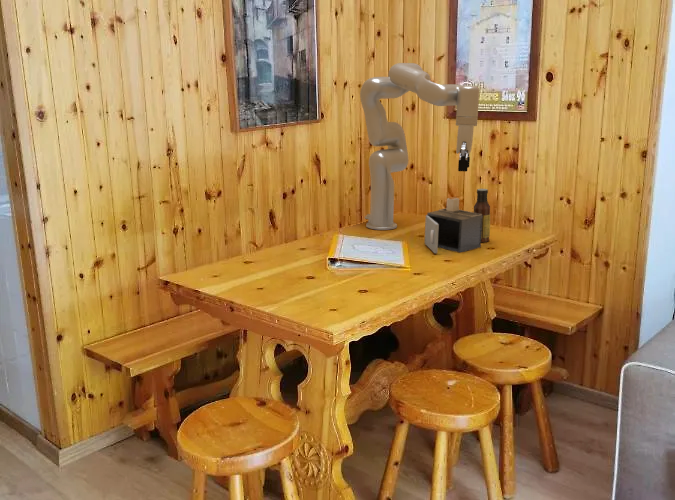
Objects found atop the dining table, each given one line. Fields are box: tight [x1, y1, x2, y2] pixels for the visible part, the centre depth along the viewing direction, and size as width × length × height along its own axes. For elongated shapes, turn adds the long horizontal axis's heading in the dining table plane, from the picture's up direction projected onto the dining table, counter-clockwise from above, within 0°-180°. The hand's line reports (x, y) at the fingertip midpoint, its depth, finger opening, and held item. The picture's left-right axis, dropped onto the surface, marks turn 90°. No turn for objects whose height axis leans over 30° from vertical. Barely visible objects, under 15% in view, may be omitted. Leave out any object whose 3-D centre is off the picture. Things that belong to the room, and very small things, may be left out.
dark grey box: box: [426, 207, 483, 254], centre depth 263 cm, size 16×12×12 cm
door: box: [424, 214, 439, 254], centre depth 257 cm, size 15×2×11 cm, turn 7°
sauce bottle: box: [473, 188, 491, 243], centre depth 269 cm, size 7×6×20 cm
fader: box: [445, 196, 460, 212], centre depth 265 cm, size 3×4×5 cm
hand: (463, 169), depth 258 cm, fingers open, 9 cm apart
